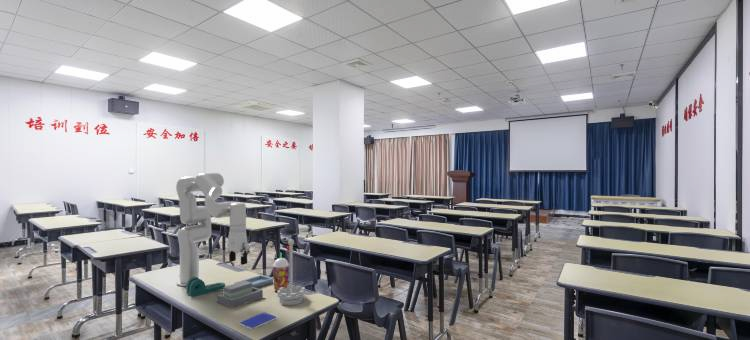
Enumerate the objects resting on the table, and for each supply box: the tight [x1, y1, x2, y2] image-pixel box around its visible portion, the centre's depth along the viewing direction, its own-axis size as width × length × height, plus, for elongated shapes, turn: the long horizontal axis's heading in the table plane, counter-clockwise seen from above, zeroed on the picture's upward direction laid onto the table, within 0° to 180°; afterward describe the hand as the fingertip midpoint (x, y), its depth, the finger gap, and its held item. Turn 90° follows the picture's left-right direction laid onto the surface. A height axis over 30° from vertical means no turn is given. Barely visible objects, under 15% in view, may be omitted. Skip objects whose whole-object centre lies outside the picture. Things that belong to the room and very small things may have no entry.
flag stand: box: [276, 238, 306, 306], centre depth 171 cm, size 13×13×30 cm
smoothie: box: [272, 252, 290, 293], centre depth 185 cm, size 8×8×20 cm
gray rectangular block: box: [222, 280, 252, 299], centre depth 174 cm, size 6×12×7 cm, turn 144°
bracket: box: [186, 277, 226, 298], centre depth 184 cm, size 18×7×8 cm, turn 134°
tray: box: [234, 274, 274, 289], centre depth 194 cm, size 11×17×2 cm, turn 144°
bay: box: [216, 287, 264, 309], centre depth 172 cm, size 12×17×4 cm
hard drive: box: [238, 311, 277, 330], centre depth 148 cm, size 2×8×12 cm
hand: (238, 262), depth 173 cm, fingers open, 9 cm apart
